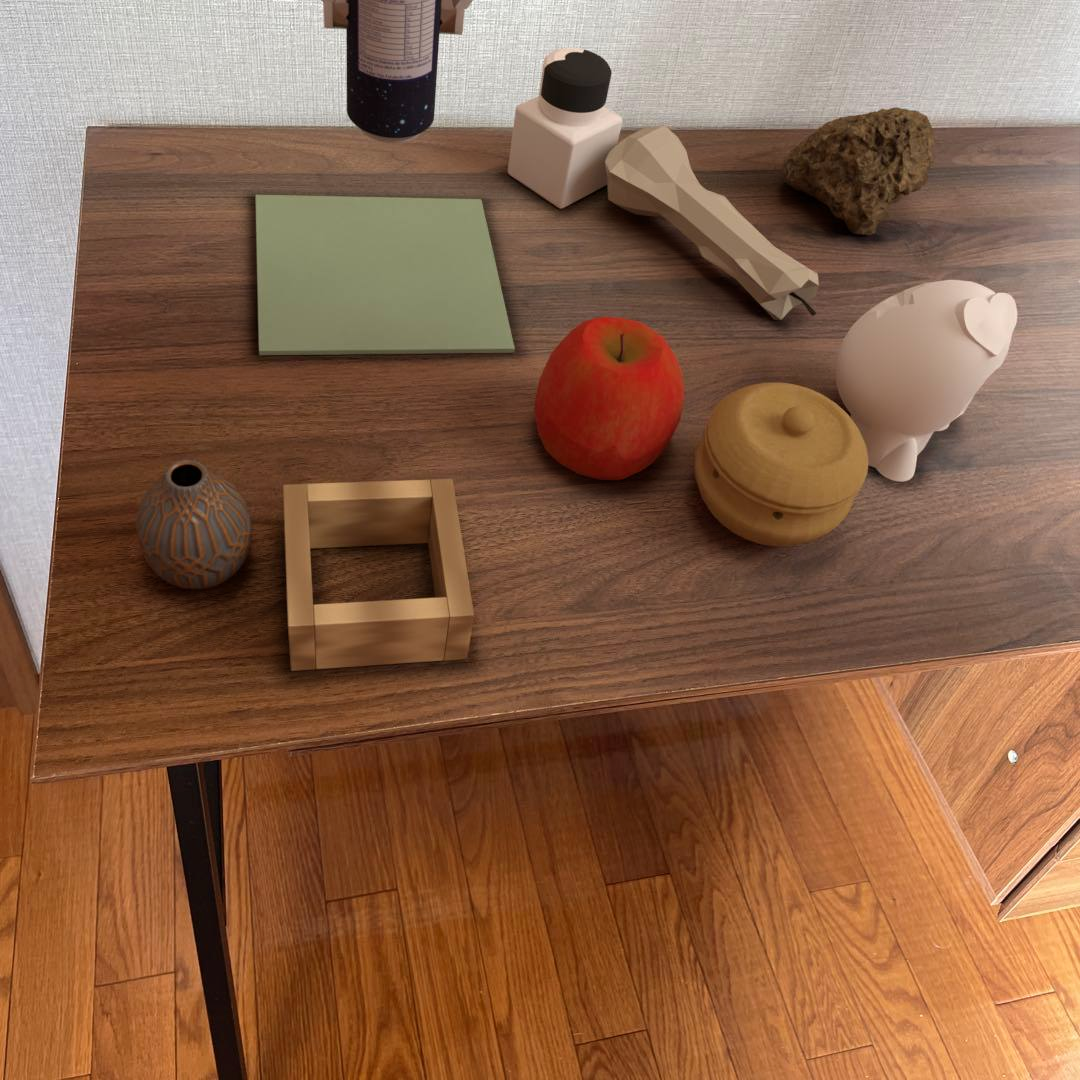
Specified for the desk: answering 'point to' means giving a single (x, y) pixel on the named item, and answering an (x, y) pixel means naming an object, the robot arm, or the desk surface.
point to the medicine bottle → (565, 129)
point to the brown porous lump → (863, 164)
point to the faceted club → (704, 219)
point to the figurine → (920, 365)
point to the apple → (609, 398)
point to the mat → (377, 277)
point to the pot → (780, 463)
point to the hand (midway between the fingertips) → (393, 27)
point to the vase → (193, 526)
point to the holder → (376, 625)
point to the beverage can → (392, 67)
